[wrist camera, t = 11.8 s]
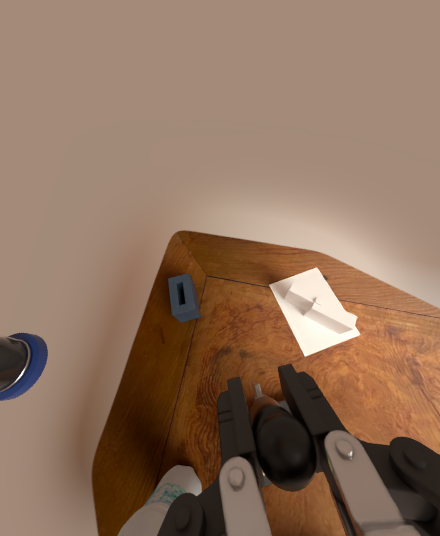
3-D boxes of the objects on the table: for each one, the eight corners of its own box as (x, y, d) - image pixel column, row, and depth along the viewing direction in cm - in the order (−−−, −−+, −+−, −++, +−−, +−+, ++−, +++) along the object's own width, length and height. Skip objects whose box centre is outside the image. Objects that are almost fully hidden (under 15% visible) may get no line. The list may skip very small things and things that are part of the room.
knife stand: (180, 322, 42) (171, 315, 37) (176, 289, 45) (167, 278, 40) (200, 317, 42) (195, 309, 37) (195, 284, 45) (188, 273, 40)
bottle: (157, 467, 32) (52, 586, 14) (198, 451, 32) (147, 548, 15) (165, 528, 29) (44, 777, 11) (210, 510, 29) (164, 722, 12)
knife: (252, 420, 23) (277, 549, 6) (243, 383, 24) (243, 404, 8) (271, 414, 23) (350, 529, 6) (261, 378, 24) (300, 389, 8)
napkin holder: (361, 334, 38) (380, 328, 33) (305, 357, 37) (315, 355, 32) (316, 266, 45) (326, 253, 40) (268, 285, 44) (271, 273, 39)
